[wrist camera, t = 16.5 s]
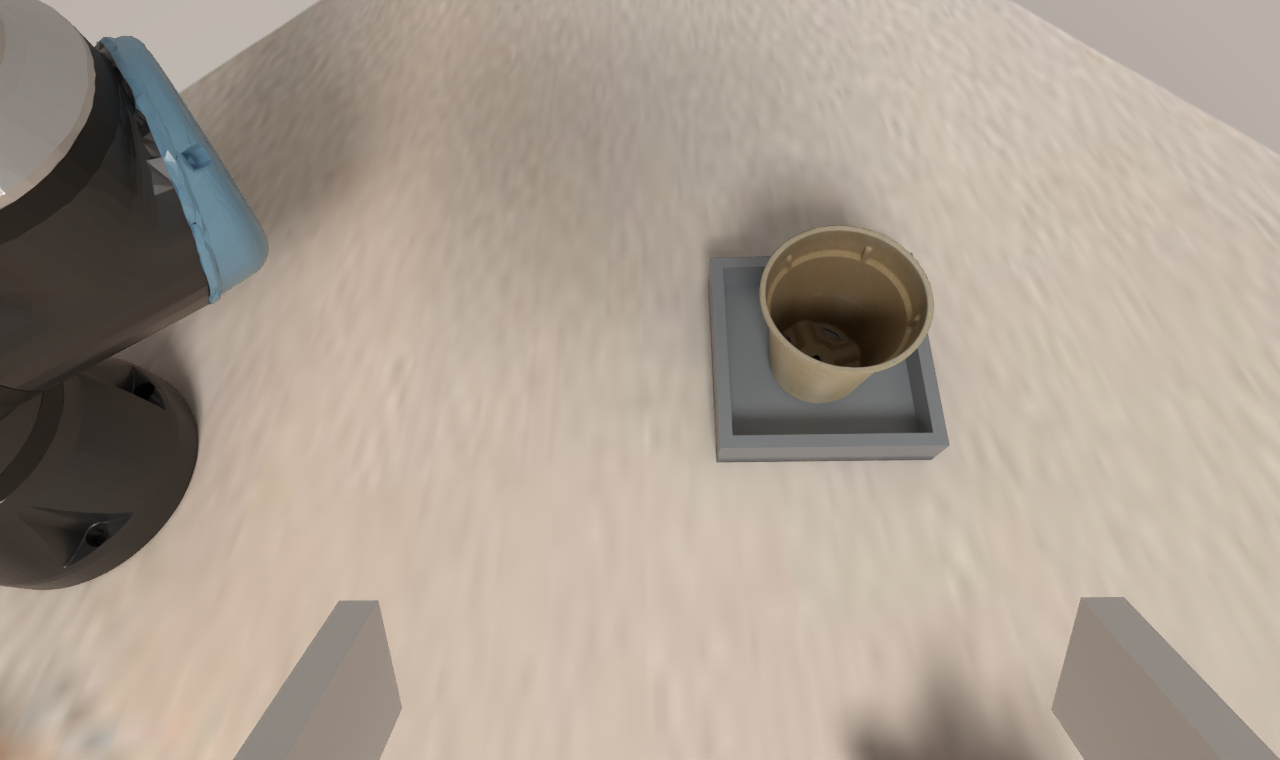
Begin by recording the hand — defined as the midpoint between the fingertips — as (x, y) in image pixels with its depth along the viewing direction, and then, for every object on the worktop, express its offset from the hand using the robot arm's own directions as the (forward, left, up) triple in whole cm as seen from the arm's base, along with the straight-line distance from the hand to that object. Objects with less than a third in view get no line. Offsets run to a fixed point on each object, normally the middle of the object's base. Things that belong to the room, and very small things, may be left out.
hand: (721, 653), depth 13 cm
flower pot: (+9, +19, -27) cm, 34 cm away
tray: (+9, +19, -28) cm, 35 cm away
